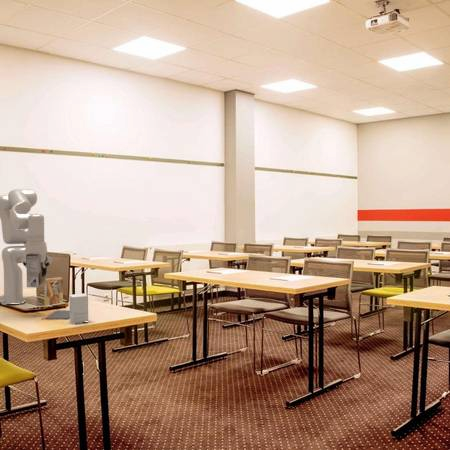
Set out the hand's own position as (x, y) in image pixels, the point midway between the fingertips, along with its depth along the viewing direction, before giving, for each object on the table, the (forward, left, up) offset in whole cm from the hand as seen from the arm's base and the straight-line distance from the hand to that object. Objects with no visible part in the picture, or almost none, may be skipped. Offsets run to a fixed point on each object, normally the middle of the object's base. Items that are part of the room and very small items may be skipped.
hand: (36, 275), depth 252 cm
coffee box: (0, 0, -5) cm, 5 cm away
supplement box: (+24, -14, -20) cm, 35 cm away
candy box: (+1, +21, -20) cm, 29 cm away
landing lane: (+11, 0, -20) cm, 23 cm away
